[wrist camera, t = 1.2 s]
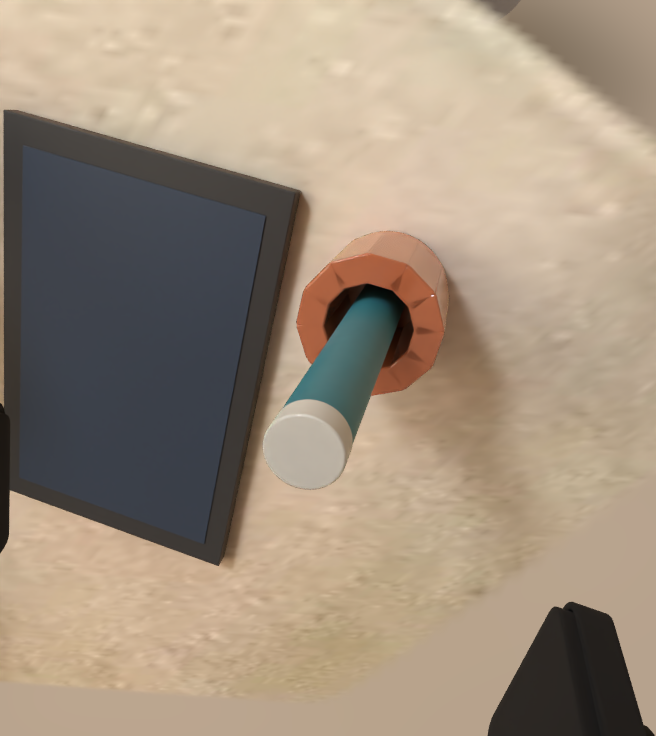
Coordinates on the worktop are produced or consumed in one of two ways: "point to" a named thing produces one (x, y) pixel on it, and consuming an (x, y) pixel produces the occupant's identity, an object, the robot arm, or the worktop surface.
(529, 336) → the worktop surface
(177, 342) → the tablet
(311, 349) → the holder
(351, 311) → the stylus
